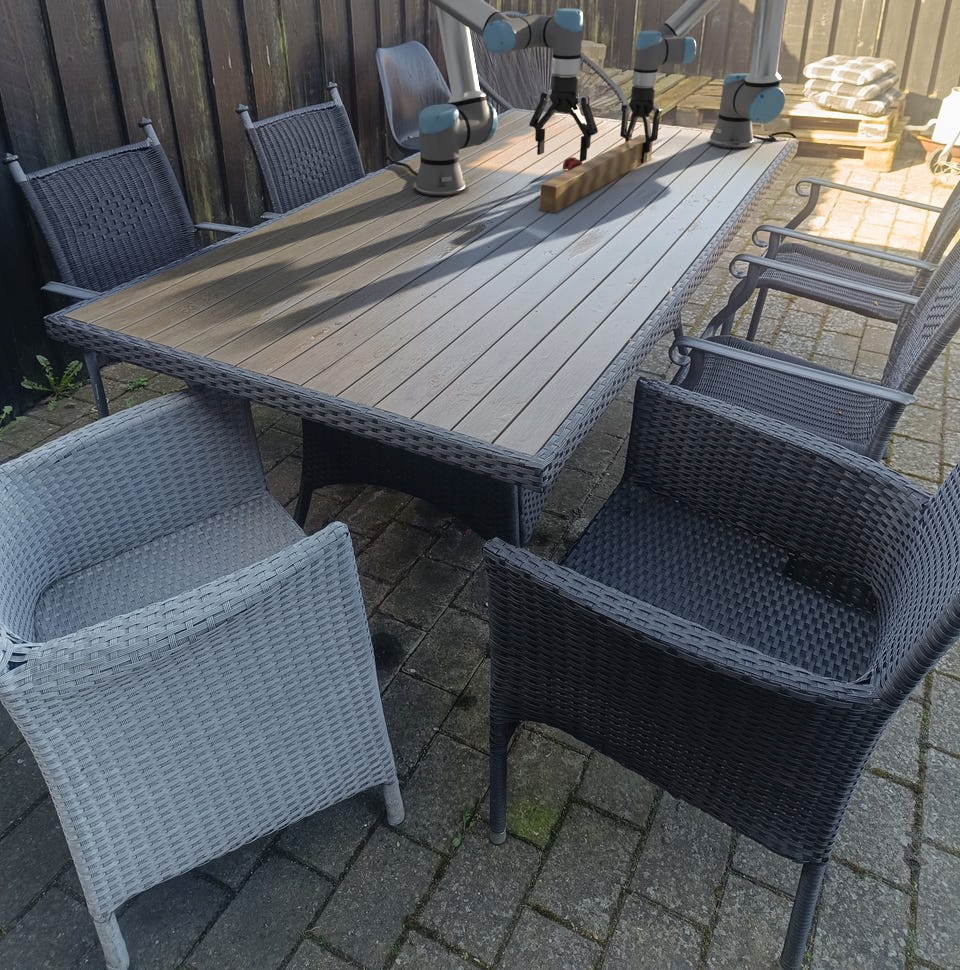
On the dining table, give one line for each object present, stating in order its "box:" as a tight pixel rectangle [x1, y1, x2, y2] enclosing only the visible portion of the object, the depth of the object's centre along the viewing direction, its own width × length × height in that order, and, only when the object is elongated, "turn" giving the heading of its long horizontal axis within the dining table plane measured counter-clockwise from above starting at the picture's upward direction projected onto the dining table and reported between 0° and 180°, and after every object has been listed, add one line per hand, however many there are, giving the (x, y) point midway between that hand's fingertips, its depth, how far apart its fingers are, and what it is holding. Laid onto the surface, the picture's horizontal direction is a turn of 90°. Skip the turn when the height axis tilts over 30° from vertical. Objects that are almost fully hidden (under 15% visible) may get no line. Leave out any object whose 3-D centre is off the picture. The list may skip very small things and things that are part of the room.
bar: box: [539, 134, 654, 214], centre depth 263 cm, size 68×5×7 cm, turn 147°
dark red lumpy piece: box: [562, 156, 583, 171], centre depth 273 cm, size 6×4×8 cm
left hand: (561, 157), depth 238 cm, fingers open, 13 cm apart
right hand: (636, 160), depth 283 cm, fingers closed on bar, 5 cm apart
